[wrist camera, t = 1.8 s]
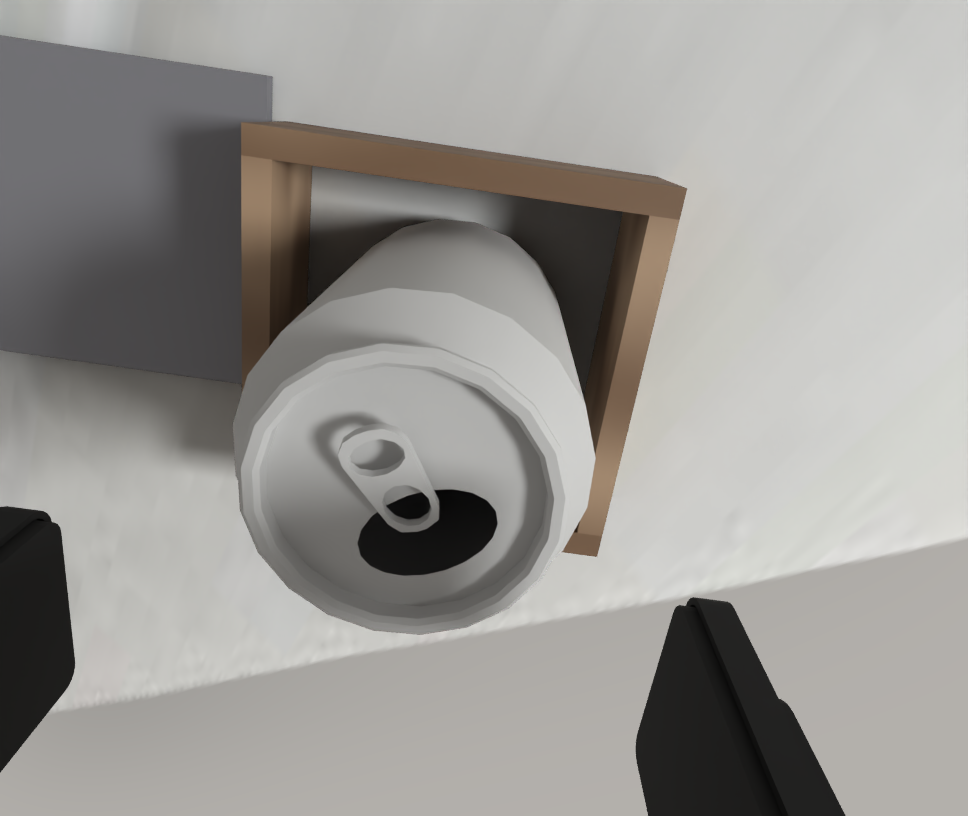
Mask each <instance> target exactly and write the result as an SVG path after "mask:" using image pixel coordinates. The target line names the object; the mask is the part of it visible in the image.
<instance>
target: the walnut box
mask: <svg viewBox="0 0 968 816" xmlns="http://www.w3.org/2000/svg"><path fill="white" fill-rule="evenodd" d="M312 166H318V167H325V168H331V169H338V170H345V171H352V172H358V173H365V174H372V175H379V176H385V177H392V178H399V179H406V180H413V181H419V182H426V183H433V184H440V185H446V186H453V187H460V188H467V189H473V190H480V191H487V192H494V193H500V194H507V195H514V196H521V197H528V198H534V199H541V200H548V201H555V202H561V203H568V204H575V205H582V206H588V207H595V208H602V209H609V210H615V211H622V212H623V214H622V219H621V223H620V228H619V233H618V238H617V242H616V247H615V252H614V256H613V261H612V266H611V271H610V275H609V280H608V285H607V289H606V294H605V299H604V304H603V308H602V313H601V318H600V322H599V327H598V332H597V337H596V341H595V346H594V351H593V355H592V360H591V365H590V370H589V374H588V379H587V384H586V388H585V393H584V401H585V405H586V410H587V415H588V420H589V426H590V431H591V436H592V442H593V447H594V452H595V458H596V459H595V465H594V471H593V477H592V483H591V488H590V494H589V500H588V506H587V509H586V511H585V513H584V514H583V516H582V518H581V520H580V521H579V523H578V525H577V527H576V528H575V530H574V532H573V534H572V536H571V537H570V539H569V541H568V543H567V544H566V546H565V548H564V550H563V551H562V552H565V553H573V554H580V555H587V556H595V557H597V554H598V550H599V546H600V542H601V538H602V534H603V530H604V526H605V522H606V518H607V513H608V509H609V505H610V501H611V497H612V493H613V489H614V485H615V481H616V477H617V473H618V469H619V464H620V460H621V456H622V452H623V448H624V444H625V440H626V436H627V432H628V428H629V424H630V420H631V415H632V411H633V407H634V403H635V399H636V395H637V391H638V387H639V383H640V379H641V375H642V371H643V367H644V362H645V358H646V354H647V350H648V346H649V342H650V338H651V334H652V330H653V326H654V322H655V318H656V313H657V309H658V305H659V301H660V297H661V293H662V289H663V285H664V281H665V277H666V273H667V269H668V264H669V260H670V256H671V252H672V248H673V244H674V240H675V236H676V232H677V228H678V224H679V220H680V216H681V211H682V207H683V203H684V199H685V195H686V191H687V188H684V187H682V186H679V185H677V184H674V183H671V182H669V181H666V180H664V179H661V178H659V177H656V176H649V175H642V174H636V173H629V172H622V171H615V170H609V169H602V168H595V167H589V166H582V165H575V164H568V163H562V162H555V161H548V160H542V159H535V158H528V157H522V156H515V155H508V154H501V153H495V152H488V151H481V150H475V149H468V148H461V147H455V146H448V145H441V144H434V143H428V142H421V141H414V140H408V139H401V138H394V137H388V136H381V135H374V134H367V133H361V132H354V131H347V130H341V129H334V128H327V127H321V126H314V125H307V124H300V123H294V122H241V250H242V392H243V388H244V385H245V382H246V379H247V375H248V374H249V372H250V371H251V370H252V369H253V367H254V366H255V365H256V363H257V362H258V361H259V360H260V358H261V357H262V356H263V354H264V353H265V352H266V351H267V349H268V348H269V347H270V345H271V344H272V343H273V342H274V340H275V339H276V338H277V336H278V335H279V334H280V333H281V331H283V330H284V329H285V328H286V327H287V326H288V325H289V324H290V323H291V322H292V321H293V320H294V319H295V318H296V317H298V316H299V315H300V314H301V313H302V312H303V311H304V310H305V309H306V308H307V295H308V268H309V240H310V212H311V184H312Z"/></svg>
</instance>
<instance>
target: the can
mask: <svg viewBox="0 0 968 816" xmlns="http://www.w3.org/2000/svg"><path fill="white" fill-rule="evenodd" d="M233 440H234V455H235V470H236V477H237V479H238V486H239V502H240V511H241V514H242V516H243V518H244V521H245V523H246V525H247V528H248V530H249V532H250V535H251V537H252V539H253V542H254V544H255V546H256V549H257V551H258V553H259V554H260V555H261V556H262V558H263V559H264V560H265V561H266V562H267V563H268V565H269V566H270V567H271V568H272V569H273V571H274V572H275V573H276V574H277V575H278V576H279V578H280V579H281V580H282V581H283V582H284V583H285V585H286V586H287V587H288V588H289V589H291V590H292V591H294V592H295V593H297V594H298V595H300V596H301V597H303V598H304V599H306V600H307V601H309V602H310V603H312V604H313V605H315V606H316V607H317V608H319V609H320V610H322V611H323V612H325V613H326V614H328V615H331V616H334V617H336V618H339V619H342V620H345V621H348V622H351V623H353V624H356V625H359V626H362V627H365V628H368V629H371V630H374V631H385V632H395V633H406V634H417V635H423V634H429V633H435V632H441V631H448V630H454V629H460V628H466V627H469V626H471V625H473V624H475V623H478V622H480V621H482V620H484V619H486V618H489V617H491V616H493V615H495V614H497V613H499V612H502V611H504V610H506V609H508V608H510V607H511V606H512V605H513V604H514V603H515V602H516V601H517V600H519V599H520V598H521V597H522V596H523V595H524V594H525V593H526V592H528V591H529V590H530V589H531V588H532V587H533V586H534V585H535V584H537V583H538V582H539V581H540V580H541V579H542V578H543V576H544V574H545V572H546V571H547V569H548V567H549V565H550V564H551V562H552V560H553V559H554V558H555V557H556V556H557V555H559V554H560V553H561V552H562V551H563V550H564V548H565V546H566V544H567V543H568V541H569V539H570V537H571V536H572V534H573V532H574V530H575V528H576V527H577V525H578V523H579V521H580V520H581V518H582V516H583V514H584V513H585V511H586V509H587V506H588V500H589V494H590V488H591V483H592V477H593V471H594V465H595V459H596V458H595V452H594V447H593V442H592V436H591V431H590V426H589V420H588V415H587V410H586V405H585V401H584V398H583V394H582V390H581V387H580V383H579V379H578V375H577V372H576V368H575V364H574V361H573V357H572V353H571V349H570V346H569V342H568V338H567V335H566V331H565V327H564V323H563V320H562V316H561V312H560V309H559V305H558V301H557V298H556V294H555V292H554V290H553V288H552V287H551V285H550V283H549V281H548V280H547V278H546V276H545V274H544V273H543V271H542V269H541V267H540V266H539V264H538V262H537V261H536V260H534V259H533V258H532V257H531V256H530V255H529V254H528V253H527V252H526V251H524V250H523V249H522V248H521V247H520V246H519V245H518V244H517V243H516V242H514V241H513V240H512V239H511V238H510V237H508V236H505V235H503V234H501V233H498V232H496V231H494V230H492V229H489V228H487V227H485V226H482V225H480V224H478V223H475V222H464V221H453V220H443V219H437V220H433V221H428V222H424V223H420V224H416V225H411V226H407V227H403V228H401V229H399V230H398V231H396V232H395V233H393V234H392V235H390V236H388V237H387V238H385V239H384V240H382V241H380V242H379V243H377V244H376V245H374V246H373V247H371V248H370V249H369V250H368V251H367V252H366V253H365V254H364V255H363V256H362V257H361V258H360V259H358V260H357V261H356V262H355V263H354V264H353V265H352V266H351V267H350V268H349V269H348V270H347V271H346V272H345V273H343V274H342V275H341V276H340V277H339V278H338V279H337V280H336V281H335V282H334V283H333V284H332V285H331V286H330V287H329V288H327V289H326V290H325V291H324V292H323V293H322V294H321V295H320V296H319V297H318V298H317V299H316V300H315V301H314V302H312V303H311V304H310V305H309V306H308V307H307V308H306V309H305V310H304V311H303V312H302V313H301V314H300V315H299V316H298V317H296V318H295V319H294V320H293V321H292V322H291V323H290V324H289V325H288V326H287V327H286V328H285V329H284V330H283V331H281V333H280V334H279V335H278V336H277V338H276V339H275V340H274V342H273V343H272V344H271V345H270V347H269V348H268V349H267V351H266V352H265V353H264V354H263V356H262V357H261V358H260V360H259V361H258V362H257V363H256V365H255V366H254V367H253V369H252V370H251V371H250V372H249V374H248V375H247V379H246V382H245V385H244V388H243V392H242V395H241V398H240V402H239V405H238V408H237V412H236V415H235V418H234V421H233Z"/></svg>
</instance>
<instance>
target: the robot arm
mask: <svg viewBox="0 0 968 816" xmlns="http://www.w3.org/2000/svg"><path fill="white" fill-rule="evenodd" d="M74 669H75V657H74V648H73V639H72V629H71V620H70V611H69V601H68V592H67V582H66V573H65V564H64V554H63V545H62V536H61V530H60V527H59V526H58V524H56V523H53V522H52V521H51V518H50V516H49V515H48V514H47V513H46V512H44V511H38V510H30V509H23V508H15V507H8V506H6V507H0V772H1V771H2V770H3V768H4V767H5V766H6V765H7V763H8V762H9V761H10V760H11V758H12V757H13V756H14V755H15V753H16V752H17V751H18V750H19V748H20V747H21V746H22V744H23V743H24V742H25V741H26V739H27V738H28V737H29V736H30V734H31V733H32V732H33V731H34V729H35V728H36V727H37V726H38V724H39V723H40V722H41V721H42V719H43V718H44V717H45V716H46V714H47V713H48V712H49V710H50V709H51V708H52V707H53V705H54V704H55V703H56V702H57V700H58V699H59V698H60V697H61V695H62V694H63V693H64V692H65V690H66V689H67V687H68V686H69V684H70V682H71V680H72V677H73V674H74ZM636 759H637V764H638V770H639V774H640V779H641V784H642V788H643V793H644V797H645V802H646V807H647V812H648V816H845V814H844V812H843V810H842V808H841V806H840V804H839V802H838V800H837V798H836V796H835V794H834V792H833V790H832V788H831V786H830V784H829V782H828V780H827V778H826V776H825V774H824V772H823V770H822V768H821V766H820V765H819V762H818V760H817V759H816V757H815V755H814V753H813V751H812V749H811V747H810V745H809V743H808V741H807V739H806V737H805V735H804V733H803V731H802V729H801V727H800V725H799V723H798V721H797V719H796V717H795V715H794V713H793V712H792V710H791V709H790V707H789V706H788V704H787V703H785V702H784V701H782V700H781V699H778V697H777V695H776V693H775V691H774V688H773V686H772V684H771V683H770V681H769V678H768V676H767V674H766V672H765V670H764V668H763V666H762V664H761V662H760V660H759V658H758V656H757V654H756V652H755V650H754V648H753V646H752V644H751V642H750V640H749V638H748V636H747V634H746V632H745V630H744V627H743V625H742V623H741V621H740V620H739V617H738V615H737V613H736V611H735V609H734V608H733V606H732V605H731V604H730V603H728V602H724V601H717V600H709V599H701V598H694V597H693V598H690V599H689V601H688V602H687V605H686V606H681V605H679V606H677V607H676V608H675V610H674V613H673V616H672V619H671V623H670V626H669V629H668V633H667V636H666V639H665V643H664V646H663V650H662V653H661V656H660V659H659V663H658V667H657V670H656V673H655V676H654V680H653V683H652V686H651V690H650V693H649V697H648V700H647V703H646V707H645V710H644V713H643V717H642V720H641V723H640V727H639V730H638V734H637V739H636Z"/></svg>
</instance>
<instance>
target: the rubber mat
mask: <svg viewBox="0 0 968 816" xmlns="http://www.w3.org/2000/svg"><path fill="white" fill-rule="evenodd" d="M241 122H272V76H266V75H260V74H253V73H246V72H240V71H233V70H226V69H220V68H213V67H207V66H200V65H193V64H187V63H180V62H173V61H167V60H160V59H153V58H147V57H140V56H134V55H127V54H120V53H114V52H107V51H100V50H94V49H87V48H80V47H74V46H67V45H61V44H54V43H47V42H41V41H34V40H27V39H21V38H14V37H7V36H1V35H0V350H3V351H10V352H17V353H24V354H31V355H39V356H46V357H53V358H60V359H67V360H74V361H81V362H89V363H96V364H103V365H110V366H117V367H124V368H131V369H138V370H146V371H153V372H160V373H167V374H174V375H181V376H188V377H196V378H203V379H210V380H217V381H224V382H231V383H238V384H242V250H241Z"/></svg>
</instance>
